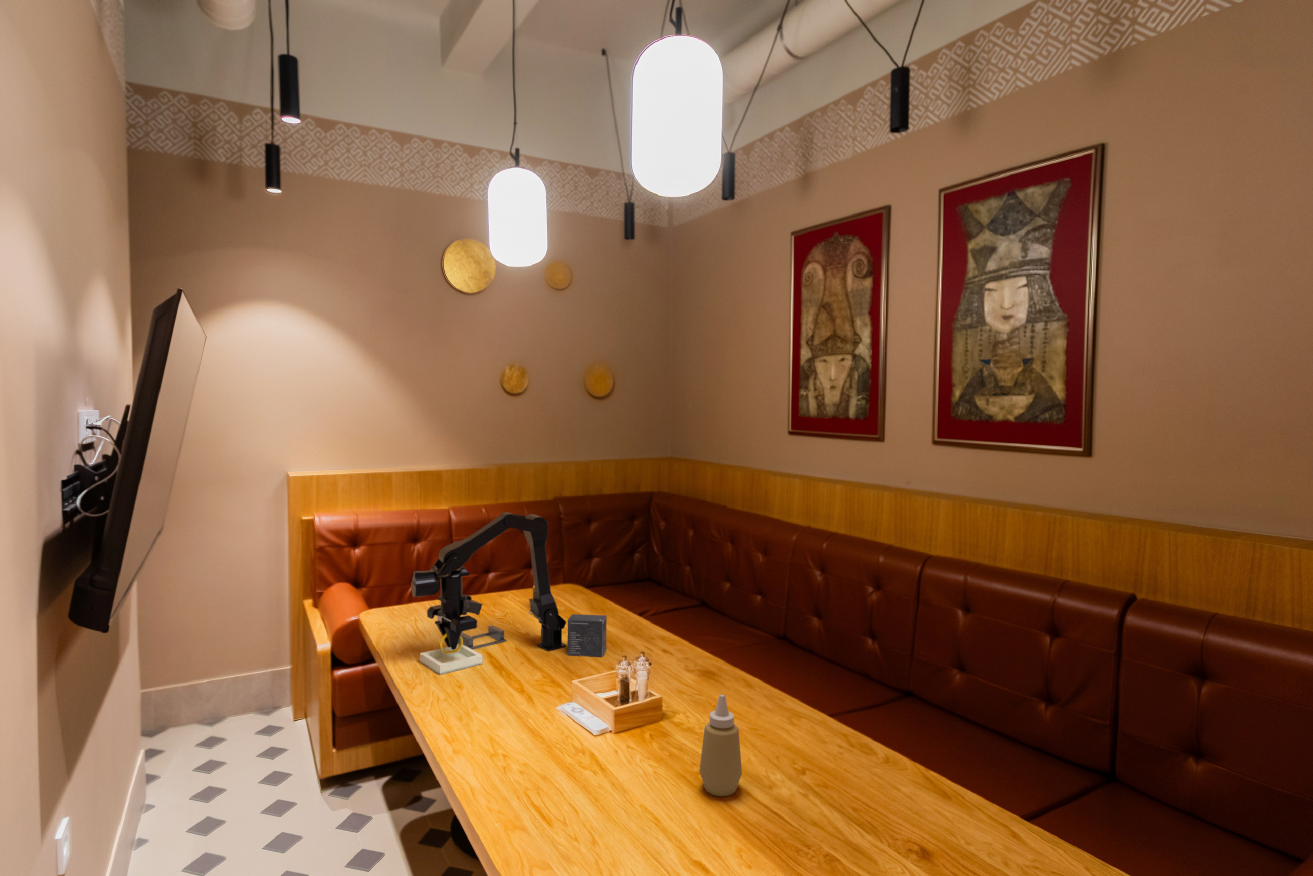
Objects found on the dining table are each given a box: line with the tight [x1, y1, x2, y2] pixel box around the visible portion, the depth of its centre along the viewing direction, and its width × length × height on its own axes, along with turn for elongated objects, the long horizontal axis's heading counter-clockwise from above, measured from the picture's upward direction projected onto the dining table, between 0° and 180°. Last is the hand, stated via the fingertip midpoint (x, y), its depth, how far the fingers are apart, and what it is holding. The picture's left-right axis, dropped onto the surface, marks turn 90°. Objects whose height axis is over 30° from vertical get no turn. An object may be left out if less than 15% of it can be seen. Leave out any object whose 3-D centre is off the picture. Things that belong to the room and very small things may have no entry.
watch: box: [439, 634, 463, 654], centre depth 199 cm, size 6×3×6 cm, turn 120°
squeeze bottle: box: [699, 694, 743, 797], centre depth 136 cm, size 8×8×18 cm
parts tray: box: [419, 644, 483, 676], centre depth 199 cm, size 12×12×2 cm
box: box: [566, 613, 608, 658], centre depth 209 cm, size 11×7×10 cm, turn 84°
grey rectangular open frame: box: [457, 624, 507, 650], centre depth 217 cm, size 9×12×3 cm
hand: (451, 648), depth 199 cm, fingers closed on watch, 2 cm apart
